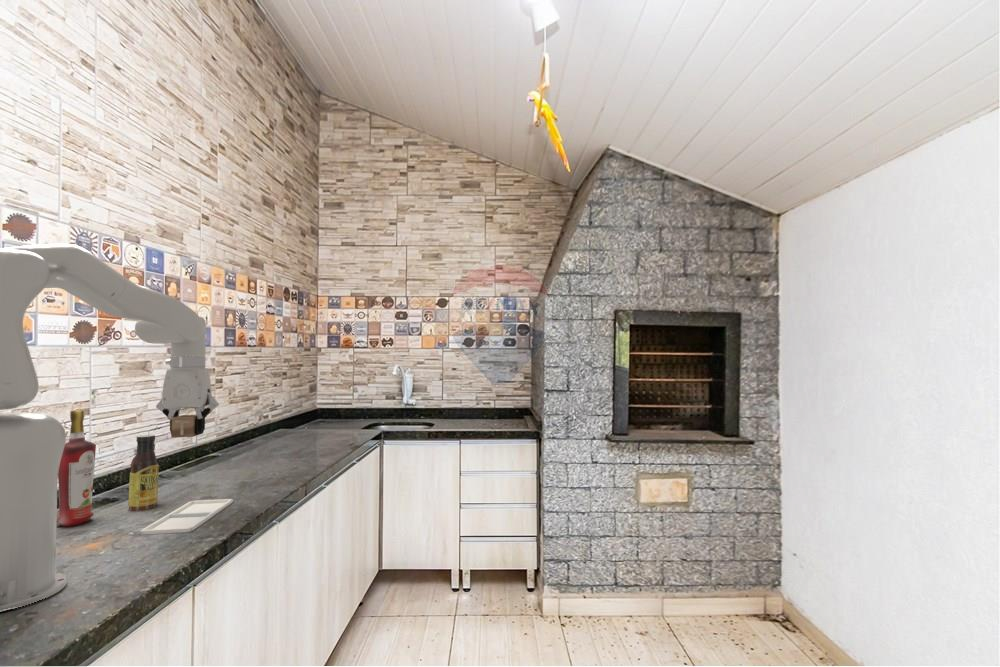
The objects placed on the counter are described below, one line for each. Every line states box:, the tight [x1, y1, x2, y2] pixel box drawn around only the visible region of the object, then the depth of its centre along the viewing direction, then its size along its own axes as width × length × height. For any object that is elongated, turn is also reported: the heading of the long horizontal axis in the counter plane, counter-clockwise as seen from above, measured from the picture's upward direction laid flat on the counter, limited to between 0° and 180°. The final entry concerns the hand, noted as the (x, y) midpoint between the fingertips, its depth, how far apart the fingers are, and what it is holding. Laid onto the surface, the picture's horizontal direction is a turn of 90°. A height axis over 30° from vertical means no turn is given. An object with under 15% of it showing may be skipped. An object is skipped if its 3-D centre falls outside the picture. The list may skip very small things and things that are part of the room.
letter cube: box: [170, 414, 204, 438], centre depth 121 cm, size 5×5×5 cm
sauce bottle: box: [127, 434, 160, 512], centre depth 127 cm, size 7×6×20 cm
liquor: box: [57, 409, 97, 527], centre depth 118 cm, size 7×7×28 cm
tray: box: [138, 498, 234, 536], centre depth 119 cm, size 22×11×2 cm, turn 7°
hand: (187, 433), depth 121 cm, fingers closed on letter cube, 4 cm apart
